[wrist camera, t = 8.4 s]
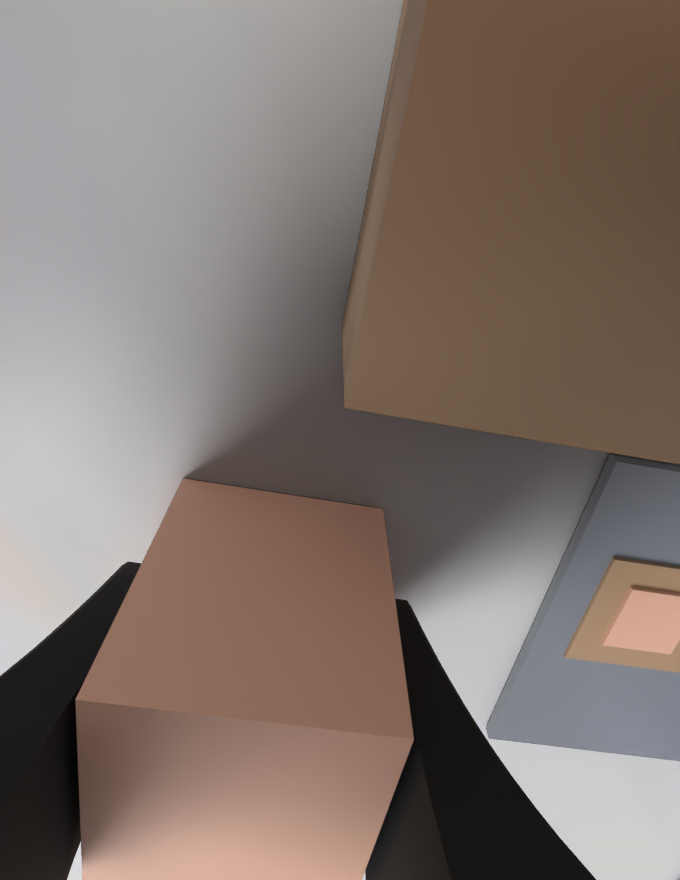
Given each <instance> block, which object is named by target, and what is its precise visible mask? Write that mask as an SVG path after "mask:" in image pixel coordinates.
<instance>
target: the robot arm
mask: <svg viewBox="0 0 680 880" xmlns="http://www.w3.org/2000/svg"><path fill="white" fill-rule="evenodd" d="M140 566H141V563H134V562H127V563H125V564H124V565H122V566H121V567H120V568H119V569H118V570H117V571H116V572H115V573H114V574H113V575H112V576H111V577H110V578H109V579H108V580H107V581H106V582H105V583H104V584H103V585H102V586H101V587H100V588H99V589H98V590H97V591H96V592H95V593H94V594H93V595H92V596H91V597H90V598H89V599H88V600H87V601H86V602H85V603H84V604H83V605H81V606H80V607H79V608H78V609H77V610H76V611H75V612H74V613H73V614H72V615H71V616H70V617H69V618H67V619H66V620H65V621H64V622H63V623H62V624H61V625H60V626H59V627H57V628H56V629H55V630H54V631H53V632H52V633H51V634H50V635H49V636H47V637H46V638H45V639H44V640H43V641H42V642H41V643H40V644H38V645H37V646H36V647H35V648H34V649H33V650H31V651H30V652H29V653H28V654H27V655H25V656H24V657H23V658H22V659H20V660H19V661H18V662H17V663H16V664H14V665H13V666H12V667H11V668H9V669H8V670H7V671H6V672H5V673H3V674H2V675H1V676H0V880H67V877H68V874H69V871H70V868H71V865H72V863H73V860H74V857H75V854H76V852H77V849H78V847H79V844H80V842H81V829H80V803H79V778H78V753H77V728H76V702H75V699H76V697H77V695H78V693H79V691H80V689H81V687H82V685H83V683H84V681H85V679H86V677H87V675H88V673H89V671H90V669H91V667H92V664H93V662H94V660H95V658H96V656H97V654H98V652H99V650H100V648H101V646H102V644H103V642H104V640H105V638H106V636H107V634H108V632H109V630H110V627H111V625H112V623H113V621H114V619H115V617H116V615H117V613H118V611H119V609H120V607H121V605H122V603H123V601H124V599H125V597H126V595H127V593H128V590H129V588H130V586H131V584H132V582H133V580H134V578H135V576H136V574H137V572H138V570H139V568H140ZM395 602H396V609H397V617H398V624H399V631H400V639H401V646H402V654H403V661H404V669H405V676H406V684H407V691H408V699H409V706H410V714H411V721H412V729H413V736H414V741H413V743H412V746H411V749H410V751H409V754H408V757H407V759H406V762H405V765H404V767H403V770H402V773H401V776H400V778H399V781H398V784H397V786H396V789H395V792H394V794H393V797H392V800H391V802H390V805H389V808H388V810H387V813H386V816H385V819H384V821H383V824H382V827H381V829H380V832H379V835H378V837H377V840H376V843H375V845H374V848H373V851H372V853H371V856H370V859H369V862H368V864H367V867H366V870H365V872H366V880H596V879H595V878H594V877H593V875H592V874H591V873H590V872H589V871H588V870H587V869H586V867H585V866H584V865H583V864H582V863H581V862H580V861H579V859H578V858H577V857H576V856H575V855H574V854H573V852H572V851H571V850H570V849H569V848H568V847H567V846H566V844H565V843H564V842H563V841H562V840H561V839H560V838H559V836H558V835H557V834H556V833H555V831H554V830H553V829H552V828H551V826H550V825H549V824H548V823H547V821H546V820H545V819H544V818H543V816H542V815H541V814H540V813H539V811H538V810H537V809H536V808H535V806H534V805H533V804H532V802H531V801H530V800H529V798H528V797H527V796H526V794H525V793H524V792H523V790H522V789H521V788H520V786H519V785H518V784H517V782H516V781H515V780H514V778H513V777H512V776H511V774H510V773H509V771H508V770H507V769H506V767H505V766H504V764H503V763H502V761H501V760H500V759H499V757H498V756H497V754H496V753H495V751H494V750H493V748H492V747H491V745H490V744H489V742H488V741H487V739H486V738H485V736H484V735H483V733H482V732H481V730H480V729H479V727H478V726H477V724H476V722H475V721H474V719H473V718H472V716H471V714H470V713H469V711H468V710H467V708H466V706H465V705H464V703H463V701H462V700H461V698H460V696H459V695H458V693H457V691H456V690H455V688H454V686H453V684H452V683H451V681H450V679H449V678H448V676H447V674H446V672H445V671H444V669H443V667H442V665H441V663H440V662H439V660H438V658H437V656H436V654H435V652H434V651H433V649H432V647H431V645H430V643H429V641H428V639H427V637H426V635H425V633H424V631H423V629H422V628H421V626H420V624H419V622H418V620H417V618H416V616H415V613H414V611H413V609H412V607H411V606H410V604H409V603H408V601H407V600H400V599H395Z"/></svg>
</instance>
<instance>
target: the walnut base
mask: <svg viewBox="0 0 680 880" xmlns="http://www.w3.org/2000/svg"><path fill="white" fill-rule="evenodd" d="M342 349H343V381H344V408H347V409H353V410H359V411H365V412H371V413H377V414H383V415H389V416H394V417H400V418H406V419H412V420H418V421H424V422H430V423H436V424H442V425H448V426H454V427H460V428H466V429H472V430H478V431H484V432H490V433H496V434H502V435H507V436H513V437H519V438H525V439H531V440H537V441H543V442H549V443H555V444H561V445H567V446H573V447H579V448H585V449H591V450H597V451H603V452H609V453H615V454H621V455H626V456H632V457H638V458H644V459H650V460H656V461H662V462H668V463H674V464H680V0H404V1H403V6H402V12H401V17H400V22H399V27H398V33H397V38H396V43H395V49H394V54H393V59H392V64H391V70H390V75H389V80H388V86H387V91H386V96H385V102H384V107H383V112H382V117H381V123H380V128H379V133H378V139H377V144H376V149H375V154H374V160H373V165H372V170H371V176H370V181H369V186H368V191H367V197H366V202H365V207H364V213H363V218H362V223H361V228H360V234H359V239H358V244H357V250H356V255H355V260H354V266H353V271H352V276H351V281H350V287H349V292H348V297H347V303H346V308H345V313H344V318H343V324H342Z"/></svg>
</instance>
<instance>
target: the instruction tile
mask: <svg viewBox="0 0 680 880" xmlns="http://www.w3.org/2000/svg"><path fill="white" fill-rule="evenodd" d="M486 730H487V734H488V737H489V738H490V739H498V740H507V741H515V742H523V743H532V744H540V745H549V746H557V747H565V748H574V749H582V750H591V751H599V752H607V753H616V754H624V755H633V756H641V757H650V758H658V759H666V760H675V761H680V466H677V465H671V464H665V463H659V462H653V461H647V460H641V459H635V458H629V457H623V456H617V455H611V454H610V455H609V457H608V459H607V462H606V464H605V466H604V468H603V470H602V473H601V475H600V477H599V479H598V481H597V484H596V486H595V488H594V490H593V492H592V495H591V497H590V499H589V501H588V503H587V506H586V508H585V510H584V512H583V514H582V517H581V519H580V521H579V523H578V526H577V528H576V530H575V532H574V534H573V537H572V539H571V541H570V543H569V545H568V548H567V550H566V552H565V554H564V556H563V559H562V561H561V563H560V565H559V567H558V570H557V572H556V574H555V576H554V578H553V581H552V583H551V585H550V587H549V589H548V592H547V594H546V596H545V598H544V600H543V603H542V605H541V607H540V609H539V611H538V614H537V616H536V618H535V620H534V623H533V625H532V627H531V629H530V631H529V634H528V636H527V638H526V640H525V642H524V645H523V647H522V649H521V651H520V653H519V656H518V658H517V660H516V662H515V664H514V667H513V669H512V671H511V673H510V675H509V678H508V680H507V682H506V684H505V686H504V689H503V691H502V693H501V695H500V697H499V700H498V702H497V704H496V706H495V708H494V711H493V713H492V715H491V717H490V720H489V722H488V724H487V726H486Z"/></svg>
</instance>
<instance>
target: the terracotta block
mask: <svg viewBox="0 0 680 880" xmlns="http://www.w3.org/2000/svg"><path fill="white" fill-rule="evenodd" d="M75 702H76V728H77V753H78V778H79V803H80V829H81V854H82V879H83V880H362V878H363V875H364V872H365V870H366V867H367V864H368V862H369V859H370V856H371V853H372V851H373V848H374V845H375V843H376V840H377V837H378V835H379V832H380V829H381V827H382V824H383V821H384V819H385V816H386V813H387V810H388V808H389V805H390V802H391V800H392V797H393V794H394V792H395V789H396V786H397V784H398V781H399V778H400V776H401V773H402V770H403V767H404V765H405V762H406V759H407V757H408V754H409V751H410V749H411V746H412V743H413V741H414V736H413V729H412V721H411V714H410V706H409V699H408V691H407V684H406V676H405V669H404V661H403V654H402V646H401V639H400V631H399V624H398V617H397V609H396V602H395V594H394V587H393V579H392V572H391V564H390V557H389V549H388V542H387V534H386V527H385V519H384V512H383V509H380V508H373V507H366V506H360V505H353V504H347V503H340V502H334V501H327V500H321V499H314V498H308V497H301V496H295V495H288V494H282V493H275V492H269V491H262V490H255V489H249V488H242V487H236V486H229V485H223V484H216V483H210V482H203V481H197V480H190V479H184V478H183V480H182V482H181V484H180V486H179V488H178V490H177V492H176V494H175V496H174V498H173V500H172V502H171V504H170V506H169V508H168V510H167V512H166V514H165V517H164V519H163V521H162V523H161V525H160V527H159V529H158V531H157V533H156V535H155V537H154V539H153V541H152V543H151V545H150V547H149V549H148V551H147V553H146V556H145V558H144V560H143V562H142V564H141V566H140V568H139V570H138V572H137V574H136V576H135V578H134V580H133V582H132V584H131V586H130V588H129V590H128V593H127V595H126V597H125V599H124V601H123V603H122V605H121V607H120V609H119V611H118V613H117V615H116V617H115V619H114V621H113V623H112V625H111V627H110V630H109V632H108V634H107V636H106V638H105V640H104V642H103V644H102V646H101V648H100V650H99V652H98V654H97V656H96V658H95V660H94V662H93V664H92V667H91V669H90V671H89V673H88V675H87V677H86V679H85V681H84V683H83V685H82V687H81V689H80V691H79V693H78V695H77V697H76V699H75Z"/></svg>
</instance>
